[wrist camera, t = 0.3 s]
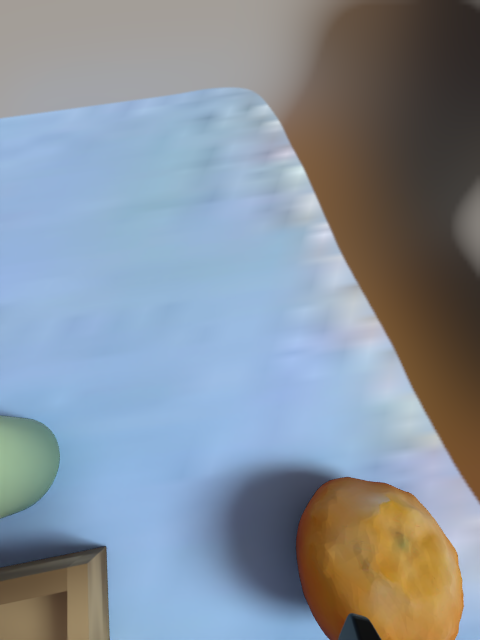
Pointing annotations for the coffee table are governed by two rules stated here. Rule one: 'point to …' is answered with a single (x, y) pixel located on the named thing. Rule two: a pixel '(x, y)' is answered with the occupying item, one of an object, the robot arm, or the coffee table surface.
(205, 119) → the coffee table surface
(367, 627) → the robot arm
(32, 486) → the green rounded tapered cylinder
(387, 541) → the fruit
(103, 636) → the tray
